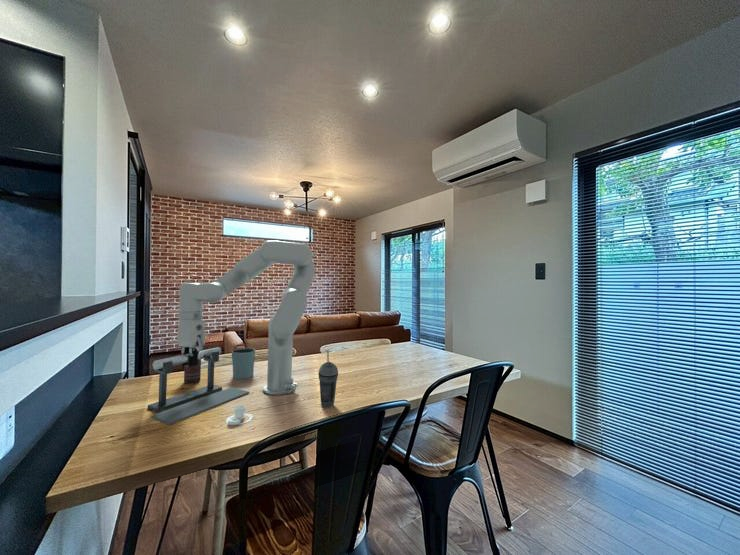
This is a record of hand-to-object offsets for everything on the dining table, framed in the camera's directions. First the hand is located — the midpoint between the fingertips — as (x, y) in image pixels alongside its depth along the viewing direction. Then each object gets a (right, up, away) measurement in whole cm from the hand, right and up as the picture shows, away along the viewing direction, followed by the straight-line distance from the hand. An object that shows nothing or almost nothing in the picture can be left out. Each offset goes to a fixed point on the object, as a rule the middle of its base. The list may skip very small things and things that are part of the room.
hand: (189, 364), depth 112 cm
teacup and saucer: (+22, -14, -16) cm, 31 cm away
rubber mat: (+8, -13, -5) cm, 16 cm away
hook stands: (-1, -12, 0) cm, 13 cm away
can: (-9, -13, +18) cm, 24 cm away
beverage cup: (+52, -14, -3) cm, 54 cm away
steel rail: (0, +3, 0) cm, 3 cm away
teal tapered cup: (+8, -13, +27) cm, 31 cm away
